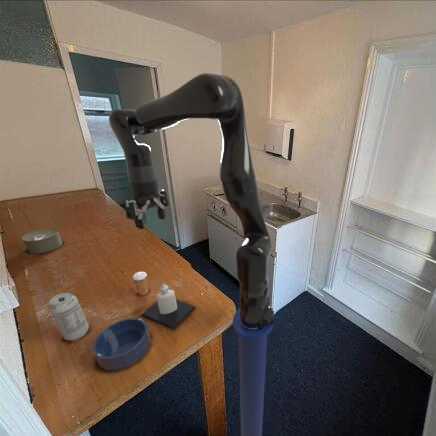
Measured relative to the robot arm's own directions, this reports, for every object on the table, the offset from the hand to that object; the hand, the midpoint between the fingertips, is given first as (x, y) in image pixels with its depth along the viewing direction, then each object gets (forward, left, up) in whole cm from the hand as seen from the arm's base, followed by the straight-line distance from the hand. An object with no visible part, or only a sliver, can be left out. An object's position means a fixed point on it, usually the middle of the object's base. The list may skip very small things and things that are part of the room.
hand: (151, 223), depth 81 cm
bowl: (-9, +24, -30) cm, 40 cm away
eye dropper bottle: (-10, +8, -30) cm, 32 cm away
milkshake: (+6, +5, -30) cm, 31 cm away
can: (+72, +1, -30) cm, 78 cm away
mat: (-10, +8, -30) cm, 33 cm away
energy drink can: (+9, +26, -30) cm, 41 cm away
